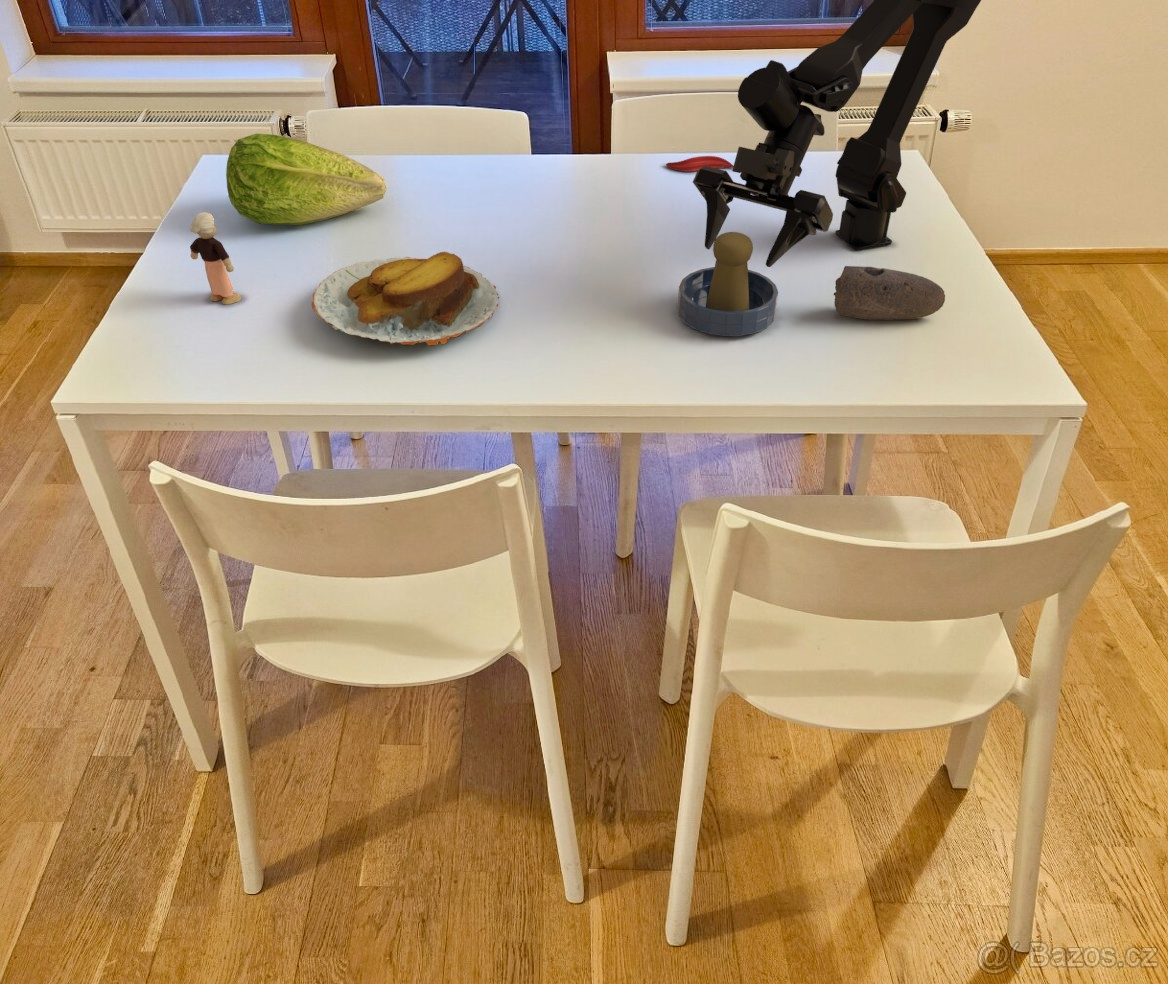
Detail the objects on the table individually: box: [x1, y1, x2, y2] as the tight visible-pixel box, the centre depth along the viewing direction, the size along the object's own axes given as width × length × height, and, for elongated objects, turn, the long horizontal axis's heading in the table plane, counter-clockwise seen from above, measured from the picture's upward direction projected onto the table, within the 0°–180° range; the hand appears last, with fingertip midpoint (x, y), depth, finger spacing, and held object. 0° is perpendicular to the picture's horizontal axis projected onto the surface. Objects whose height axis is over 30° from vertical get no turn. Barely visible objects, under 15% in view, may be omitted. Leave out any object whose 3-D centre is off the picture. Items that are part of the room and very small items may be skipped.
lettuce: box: [225, 133, 387, 226], centre depth 164 cm, size 15×24×14 cm, turn 98°
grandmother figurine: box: [189, 211, 242, 305], centre depth 142 cm, size 8×4×13 cm, turn 71°
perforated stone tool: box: [832, 265, 946, 321], centre depth 139 cm, size 15×5×7 cm, turn 83°
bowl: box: [677, 266, 779, 337], centre depth 140 cm, size 13×13×4 cm
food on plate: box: [311, 251, 500, 346], centre depth 141 cm, size 25×25×7 cm
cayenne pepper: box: [665, 155, 734, 172], centre depth 181 cm, size 12×5×2 cm, turn 79°
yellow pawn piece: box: [706, 231, 754, 312], centre depth 138 cm, size 6×6×11 cm
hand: (736, 256), depth 137 cm, fingers open, 9 cm apart
